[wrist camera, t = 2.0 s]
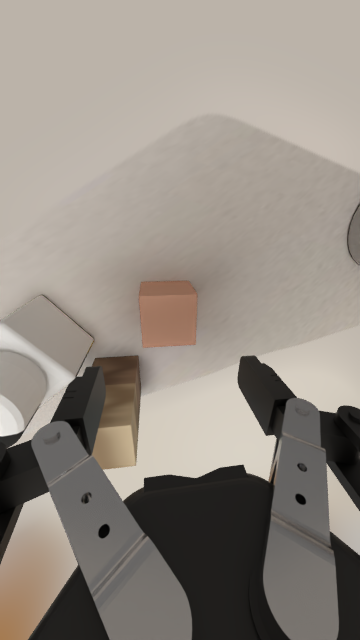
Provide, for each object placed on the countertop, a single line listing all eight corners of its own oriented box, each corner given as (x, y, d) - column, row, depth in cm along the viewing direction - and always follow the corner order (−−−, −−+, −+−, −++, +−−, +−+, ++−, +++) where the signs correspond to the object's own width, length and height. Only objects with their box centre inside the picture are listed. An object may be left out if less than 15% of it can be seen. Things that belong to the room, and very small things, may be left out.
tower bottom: (138, 355, 26) (135, 383, 22) (141, 388, 28) (139, 419, 24) (95, 358, 26) (83, 387, 21) (101, 391, 28) (91, 424, 23)
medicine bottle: (53, 374, 26) (-18, 483, 15) (-3, 334, 23) (-140, 433, 12) (96, 339, 25) (52, 430, 14) (42, 292, 22) (-66, 361, 11)
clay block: (188, 280, 23) (197, 294, 19) (187, 322, 25) (195, 344, 21) (141, 281, 23) (138, 296, 18) (144, 324, 25) (142, 347, 20)
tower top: (135, 383, 22) (130, 425, 17) (139, 419, 24) (136, 465, 19) (83, 387, 21) (64, 431, 17) (91, 423, 23) (76, 472, 19)
